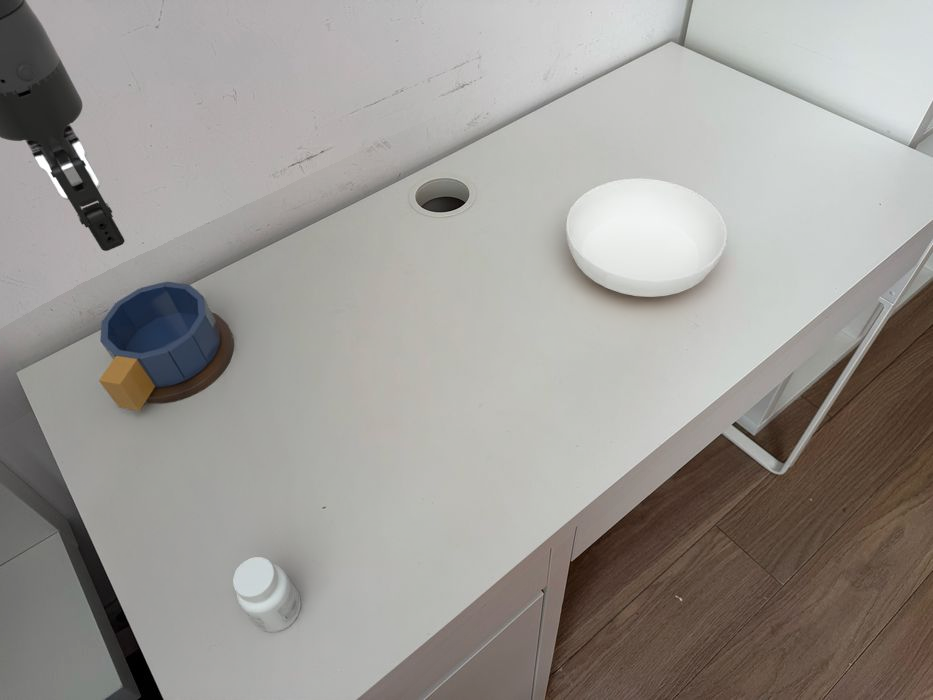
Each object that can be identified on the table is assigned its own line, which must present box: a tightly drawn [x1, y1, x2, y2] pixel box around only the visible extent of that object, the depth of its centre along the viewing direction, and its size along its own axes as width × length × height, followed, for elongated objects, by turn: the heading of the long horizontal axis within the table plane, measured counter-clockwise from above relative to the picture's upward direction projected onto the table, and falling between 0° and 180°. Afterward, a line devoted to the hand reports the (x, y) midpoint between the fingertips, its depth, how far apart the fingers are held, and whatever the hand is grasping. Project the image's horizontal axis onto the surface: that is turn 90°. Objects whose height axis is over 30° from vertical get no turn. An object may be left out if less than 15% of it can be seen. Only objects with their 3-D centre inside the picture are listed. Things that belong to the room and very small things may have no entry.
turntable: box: [145, 311, 235, 404], centre depth 83 cm, size 14×14×1 cm
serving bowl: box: [98, 281, 220, 412], centre depth 79 cm, size 15×12×5 cm
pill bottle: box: [232, 556, 302, 633], centre depth 60 cm, size 4×4×8 cm
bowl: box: [565, 177, 728, 298], centre depth 87 cm, size 20×20×6 cm
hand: (101, 223), depth 68 cm, fingers open, 8 cm apart
